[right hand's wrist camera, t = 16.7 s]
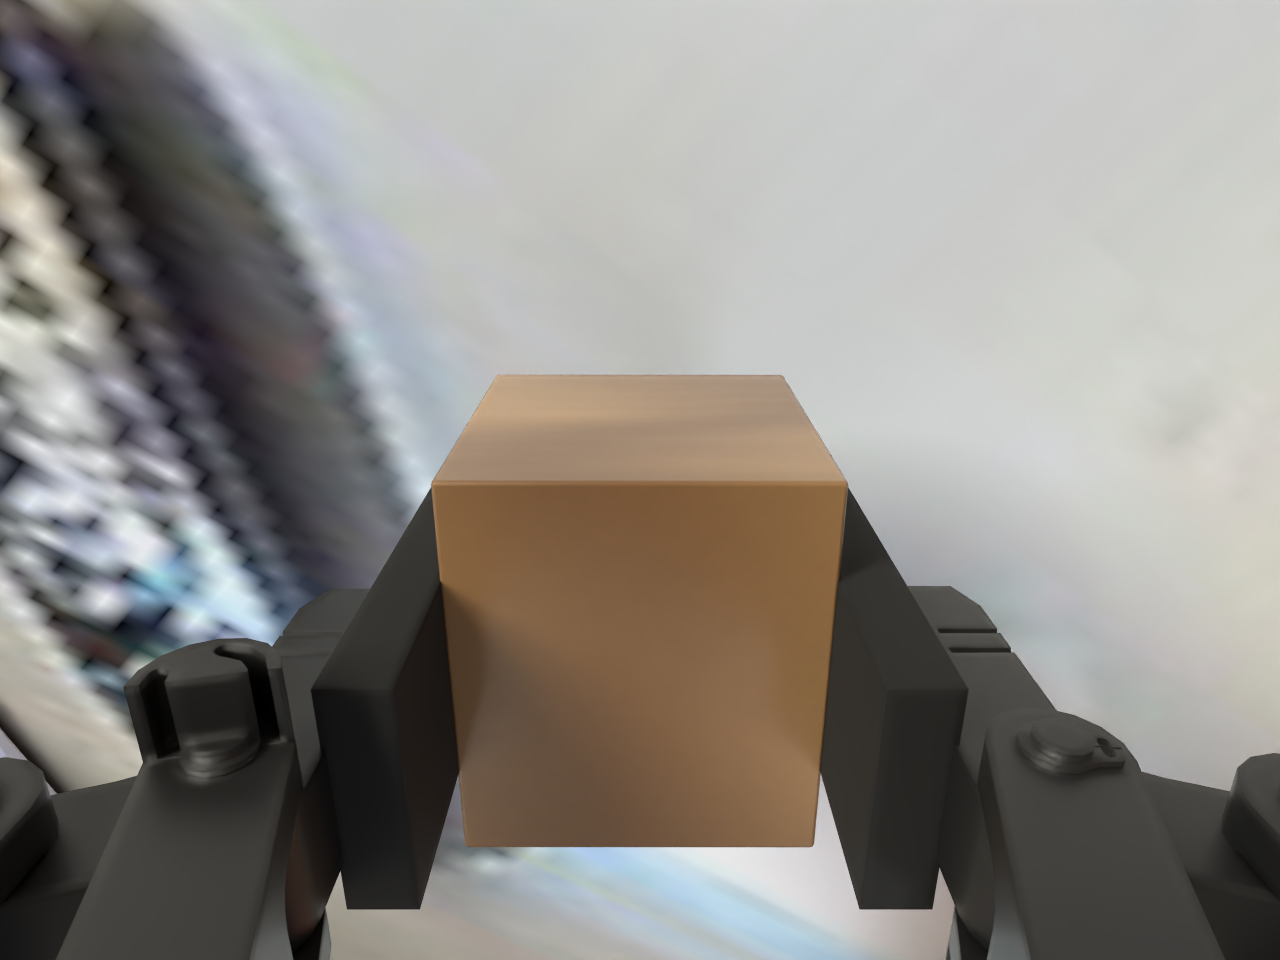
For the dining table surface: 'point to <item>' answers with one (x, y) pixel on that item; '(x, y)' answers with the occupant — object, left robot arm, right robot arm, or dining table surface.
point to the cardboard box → (639, 610)
